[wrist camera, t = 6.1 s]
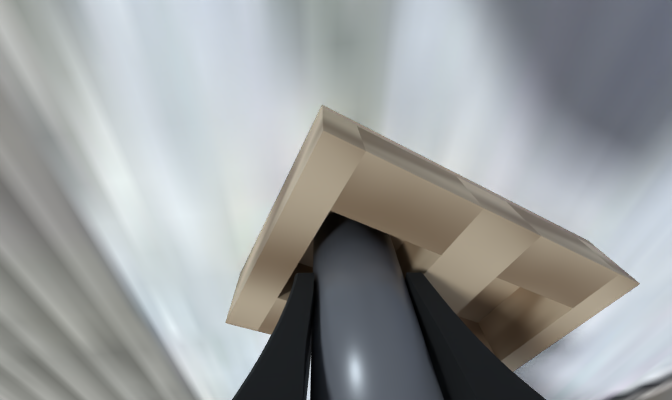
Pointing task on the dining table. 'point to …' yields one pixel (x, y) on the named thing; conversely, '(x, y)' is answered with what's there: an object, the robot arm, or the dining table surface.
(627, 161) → the dining table surface
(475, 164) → the dining table surface
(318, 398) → the grey rounded cylinder
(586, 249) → the socket block
